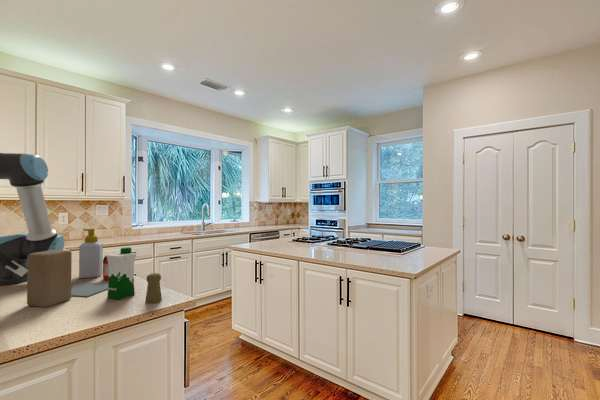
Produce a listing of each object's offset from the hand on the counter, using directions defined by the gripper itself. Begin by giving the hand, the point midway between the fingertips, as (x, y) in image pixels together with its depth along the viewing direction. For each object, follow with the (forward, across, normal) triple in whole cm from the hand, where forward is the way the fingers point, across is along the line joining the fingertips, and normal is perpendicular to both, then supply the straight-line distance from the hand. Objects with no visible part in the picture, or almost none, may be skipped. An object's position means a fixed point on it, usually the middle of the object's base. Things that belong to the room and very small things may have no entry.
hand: (24, 273), depth 108 cm
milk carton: (+28, +16, +9) cm, 34 cm away
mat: (+26, -7, +7) cm, 28 cm away
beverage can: (+37, -17, +18) cm, 44 cm away
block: (+15, 0, -4) cm, 16 cm away
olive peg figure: (+31, +33, +12) cm, 46 cm away
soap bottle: (+35, -31, +16) cm, 50 cm away
